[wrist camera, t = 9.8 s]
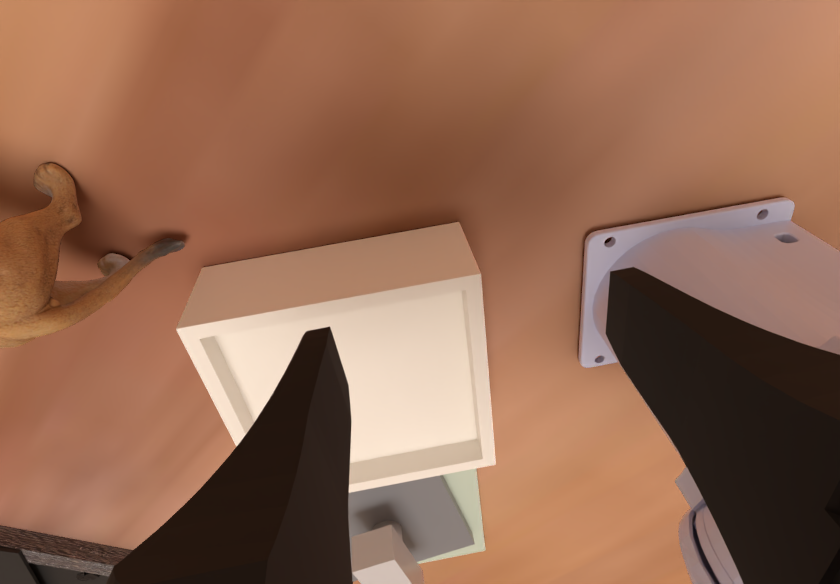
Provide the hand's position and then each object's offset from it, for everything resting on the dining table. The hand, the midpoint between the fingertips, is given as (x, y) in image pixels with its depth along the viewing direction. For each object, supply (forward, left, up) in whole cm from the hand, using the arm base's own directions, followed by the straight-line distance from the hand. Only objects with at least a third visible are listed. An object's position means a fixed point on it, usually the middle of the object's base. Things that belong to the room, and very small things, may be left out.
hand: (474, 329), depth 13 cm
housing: (+4, +7, -9) cm, 13 cm away
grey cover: (+5, +21, -9) cm, 24 cm away
